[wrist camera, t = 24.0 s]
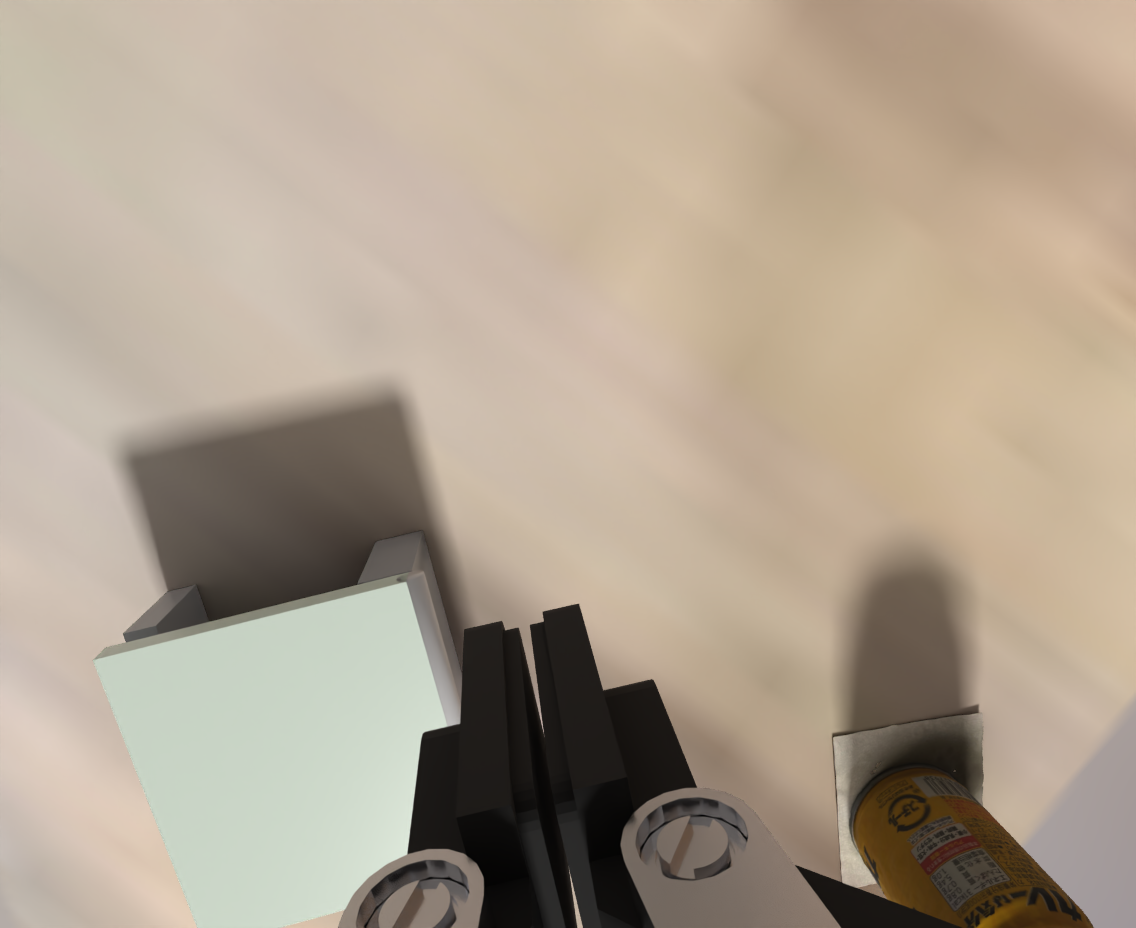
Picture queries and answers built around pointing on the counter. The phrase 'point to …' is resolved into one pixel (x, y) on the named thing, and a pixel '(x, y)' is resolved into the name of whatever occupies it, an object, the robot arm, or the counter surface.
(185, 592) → the grey u-shaped block
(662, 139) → the counter surface
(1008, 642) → the counter surface
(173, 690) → the lid
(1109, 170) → the counter surface
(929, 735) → the condiment
